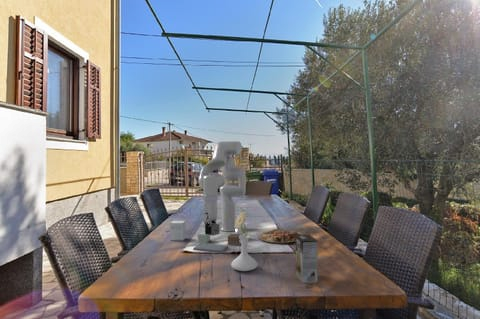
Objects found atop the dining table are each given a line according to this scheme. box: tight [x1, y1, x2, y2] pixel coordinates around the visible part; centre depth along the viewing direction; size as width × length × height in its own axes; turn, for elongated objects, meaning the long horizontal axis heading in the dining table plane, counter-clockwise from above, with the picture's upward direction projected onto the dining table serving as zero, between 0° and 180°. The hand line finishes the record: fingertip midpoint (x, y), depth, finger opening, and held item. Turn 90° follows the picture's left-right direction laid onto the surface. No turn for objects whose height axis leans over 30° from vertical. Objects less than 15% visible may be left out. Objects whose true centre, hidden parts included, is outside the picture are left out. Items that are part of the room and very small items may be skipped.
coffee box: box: [294, 233, 319, 284], centre depth 111 cm, size 9×6×16 cm
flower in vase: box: [230, 211, 258, 272], centre depth 120 cm, size 13×11×25 cm
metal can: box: [234, 227, 245, 235], centre depth 168 cm, size 5×5×6 cm
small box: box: [169, 220, 187, 241], centre depth 167 cm, size 8×6×10 cm
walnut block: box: [227, 233, 241, 246], centre depth 157 cm, size 6×5×5 cm
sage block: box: [197, 230, 211, 244], centre depth 162 cm, size 6×5×5 cm
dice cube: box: [208, 223, 220, 237], centre depth 148 cm, size 5×5×5 cm
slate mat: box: [193, 243, 229, 253], centre depth 149 cm, size 9×16×1 cm, turn 73°
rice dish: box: [257, 228, 305, 244], centre depth 168 cm, size 28×28×5 cm
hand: (210, 232), depth 149 cm, fingers closed on dice cube, 6 cm apart
